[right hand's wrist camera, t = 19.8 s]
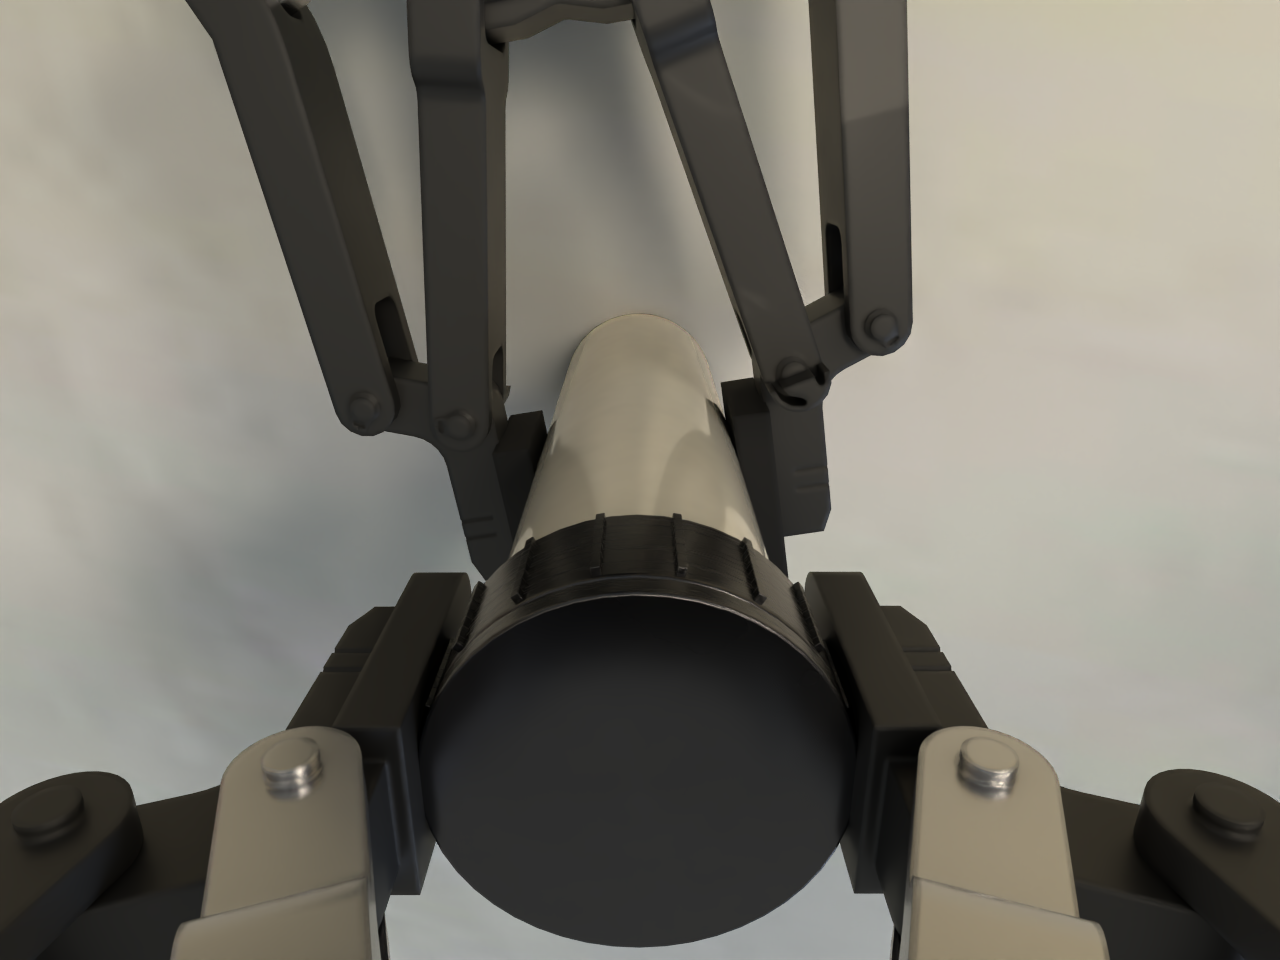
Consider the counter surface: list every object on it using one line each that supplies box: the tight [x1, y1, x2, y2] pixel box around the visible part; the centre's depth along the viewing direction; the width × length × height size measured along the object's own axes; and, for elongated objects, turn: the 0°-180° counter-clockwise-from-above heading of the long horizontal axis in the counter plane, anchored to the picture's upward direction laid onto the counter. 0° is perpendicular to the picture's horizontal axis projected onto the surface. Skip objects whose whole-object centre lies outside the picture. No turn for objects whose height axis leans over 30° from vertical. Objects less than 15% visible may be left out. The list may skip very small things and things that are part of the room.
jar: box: [508, 314, 769, 560], centre depth 18 cm, size 4×4×16 cm
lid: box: [418, 513, 857, 947], centre depth 10 cm, size 5×5×2 cm
